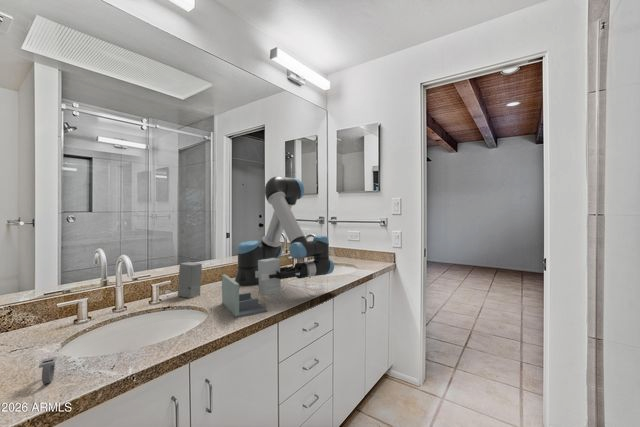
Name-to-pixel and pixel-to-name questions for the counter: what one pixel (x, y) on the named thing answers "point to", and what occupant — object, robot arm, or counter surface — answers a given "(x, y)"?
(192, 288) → the skincare box
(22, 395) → the counter surface
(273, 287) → the skincare box
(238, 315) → the holder
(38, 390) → the counter surface
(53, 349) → the counter surface
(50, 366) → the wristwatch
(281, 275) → the robot arm
